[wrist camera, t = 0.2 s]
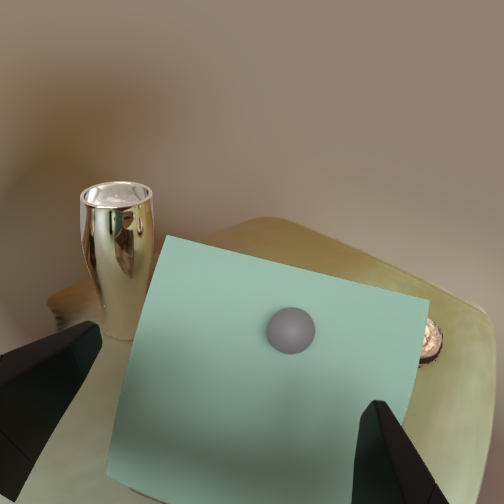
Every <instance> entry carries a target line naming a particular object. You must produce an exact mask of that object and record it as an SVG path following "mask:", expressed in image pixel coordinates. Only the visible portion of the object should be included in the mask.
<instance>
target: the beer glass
mask: <svg viewBox="0 0 504 504" xmlns="http://www.w3.org/2000/svg"><path fill="white" fill-rule="evenodd" d="M80 201H81V209H80V211H81V213H80V219H81V221H80V222H81V238H82V246H83V252H84V256H85V259H86V263H87V267H88V269H89V272H90V275H91V278H92V281H93V283H94V286H95V288H96V291H97V294H98V297H99V302H100V324H101V327H102V329H103V331H104V332H105V333H106V334H107V335H108V336H110V337H112V338H114V339H117V340H133V339H134V337H135V334H136V330H137V327H138V323H139V320H140V316H141V313H142V309H143V306H144V303H145V299H146V296H147V286H148V279H149V274H150V268H151V262H152V254H153V239H154V226H153V206H152V190H151V189H150V188H148V187H147V186H145V185H142V184H139V183H134V182H121V181H119V182H107V183H102V184H98V185H94V186H92V187H89V188H88V189H86V190H85V191H83V192H82V193H81V196H80Z"/></svg>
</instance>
